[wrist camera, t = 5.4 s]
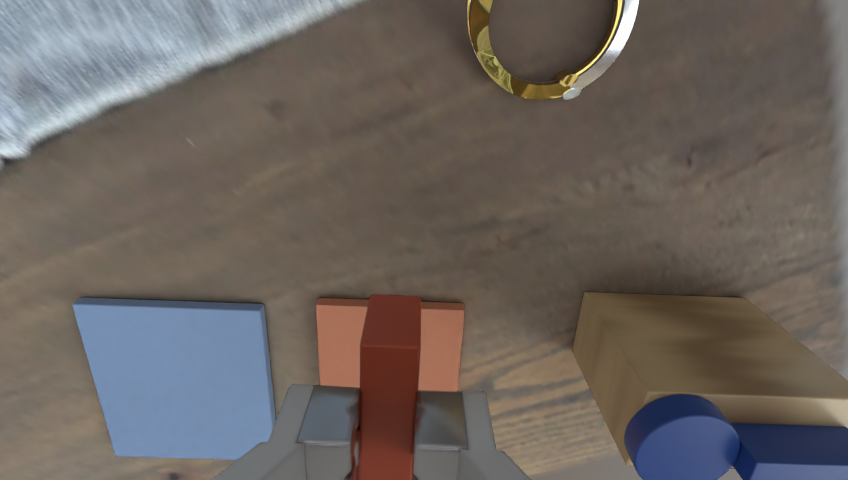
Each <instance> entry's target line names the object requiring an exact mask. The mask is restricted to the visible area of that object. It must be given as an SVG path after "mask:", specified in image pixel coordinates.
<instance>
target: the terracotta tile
mask: <svg viewBox="0 0 848 480" xmlns="http://www.w3.org/2000/svg"><path fill="white" fill-rule="evenodd" d="M368 302H369V300H363V299H335V298H319V299H318V301H317V304H316V318H317V337H318V356H319V374H320V385H326V386H342V387H357V388H360V341H361V337H362V332H363V327H364V322H365V317H366V312H367V307H368ZM464 314H465V309H464V304H463V303H445V302H421V354H420V369H419V385H418V390H431V391H458V380H459V369H460V358H461V347H462V336H463V325H464Z"/></svg>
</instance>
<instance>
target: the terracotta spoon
mask: <svg viewBox="0 0 848 480" xmlns="http://www.w3.org/2000/svg"><path fill="white" fill-rule="evenodd" d="M420 354H421V299H420V297H418V296H399V295H378V294H373V295H371V296H370V298H369V302H368V307H367V312H366V317H365V322H364V327H363V332H362V337H361V341H360V458H359V465H358V466H357V467H356V480H412V455H413V434H414V431H415V428H414V416H415V401H416V392H418V385H419V369H420Z"/></svg>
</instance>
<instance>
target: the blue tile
mask: <svg viewBox="0 0 848 480" xmlns="http://www.w3.org/2000/svg"><path fill="white" fill-rule="evenodd" d="M72 306H73V310H74V313H75V317H76V320H77V324H78V327H79V331H80V334H81V338H82V341H83V345H84V348H85V352H86V355H87V359H88V362H89V366H90V369H91V373H92V376H93V379H94V383H95V386H96V390H97V393H98V397H99V400H100V404H101V407H102V411H103V414H104V418H105V421H106V425H107V428H108V432H109V435H110V439H111V442H112V446H113V449H114V452H115V455H116V456H130V457H164V458H198V459H232V460H238V459H239V458H240V457H242V456H243V455H244V454H245V453H247V452H248V451H249V450H251V449H252V448H253V447H255V446H256V445H257V444H258V443H260V442H268V440H269V437H270V435H271V432H272V429H273V427H274V424H275V422H276V417H275V407H274V397H273V387H272V378H271V368H270V358H269V349H268V339H267V329H266V319H265V310H264V304H249V303H222V302H194V301H166V300H139V299H111V298H83V297H82V298H80V299H78V300H77V301H76V302H75V303H73V304H72Z"/></svg>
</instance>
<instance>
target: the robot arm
mask: <svg viewBox="0 0 848 480" xmlns="http://www.w3.org/2000/svg"><path fill="white" fill-rule="evenodd" d="M414 428H415V431H414V434H413V455H412V480H531V479H530V478H529V477H528V476H527V475H526V474H525V473H524V472H523V471H522V470H521V469H520V468H519V467H518V466H517V465H516V464H515V462H514V461H513V460H512V459H511V458H510V457H509V456H508V455H507V454H506V453H505V452H504V451H496V445H495V440H494V434H493V429H492V423H491V418H490V412H489V407H488V401H487V396H486V394H485V392H484V391H461V392H460V391H431V390H418V392H416V401H415V416H414ZM359 458H360V388H357V387H342V386H326V385H316V386H315V385H303V384H292V385H291V386H290V387H289V388H288V391H287V393H286V396H285V398H284V401H283V404H282V406H281V409H280V411H279V414H278V417H277V419H276V422H275V424H274V427H273V429H272V432H271V435H270V437H269V440H268V442H260V443H258V444H257V445H256V446H255V447H253V448H252V449H251V450H249V451H248V452H247V453H245V454H244V455H243V456H242V457H240V458H239V459H238V460H236V461H235V462H234V463H233V464H231V465H230V466H229V467H227V468H226V469H225V470H223V471H222V472H221V473H220V474H218V475H217V476H216V477H214V478H213V479H212V480H356V467H357V466H358V465H359Z"/></svg>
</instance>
